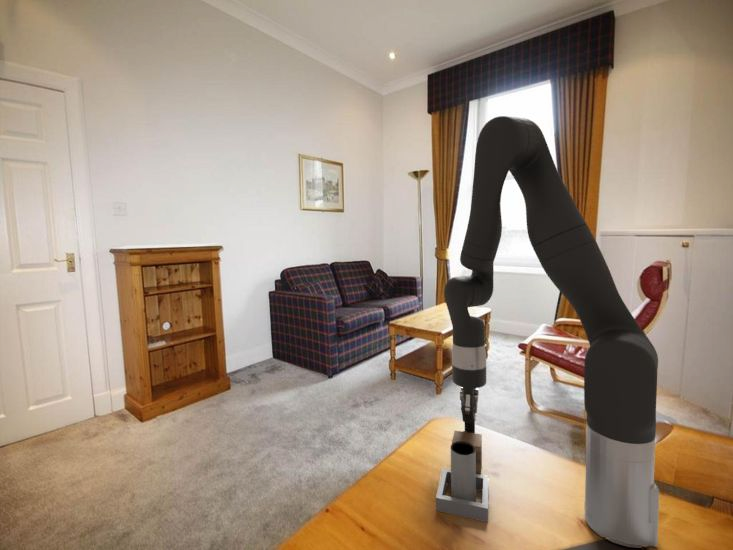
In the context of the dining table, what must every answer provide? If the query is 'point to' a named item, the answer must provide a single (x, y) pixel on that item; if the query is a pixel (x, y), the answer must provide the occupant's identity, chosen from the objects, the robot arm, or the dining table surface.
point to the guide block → (475, 441)
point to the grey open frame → (460, 505)
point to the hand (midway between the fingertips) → (469, 434)
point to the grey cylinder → (463, 471)
